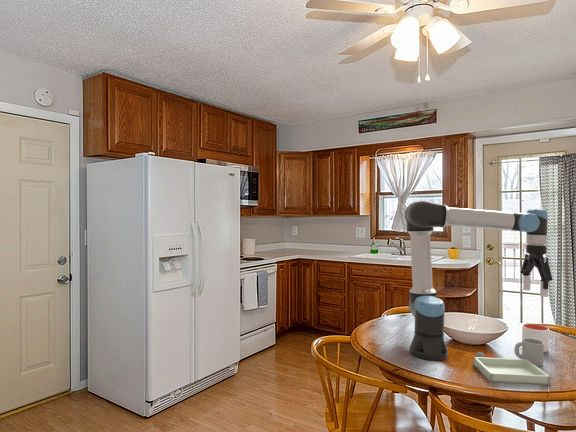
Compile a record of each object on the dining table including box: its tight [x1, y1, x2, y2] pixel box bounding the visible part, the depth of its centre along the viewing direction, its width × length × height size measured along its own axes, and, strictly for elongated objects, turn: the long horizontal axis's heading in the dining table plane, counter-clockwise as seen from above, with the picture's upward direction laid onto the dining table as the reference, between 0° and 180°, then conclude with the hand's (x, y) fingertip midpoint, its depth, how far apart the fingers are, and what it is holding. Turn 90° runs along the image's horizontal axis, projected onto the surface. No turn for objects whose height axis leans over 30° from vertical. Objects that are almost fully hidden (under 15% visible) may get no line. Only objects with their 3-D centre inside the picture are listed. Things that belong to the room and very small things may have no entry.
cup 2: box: [514, 338, 545, 368], centre depth 157 cm, size 7×10×9 cm
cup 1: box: [521, 323, 550, 353], centre depth 173 cm, size 10×10×10 cm
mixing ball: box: [474, 351, 486, 357], centre depth 158 cm, size 4×4×4 cm
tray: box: [473, 356, 552, 386], centre depth 145 cm, size 20×16×3 cm
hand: (535, 293), depth 170 cm, fingers open, 13 cm apart
